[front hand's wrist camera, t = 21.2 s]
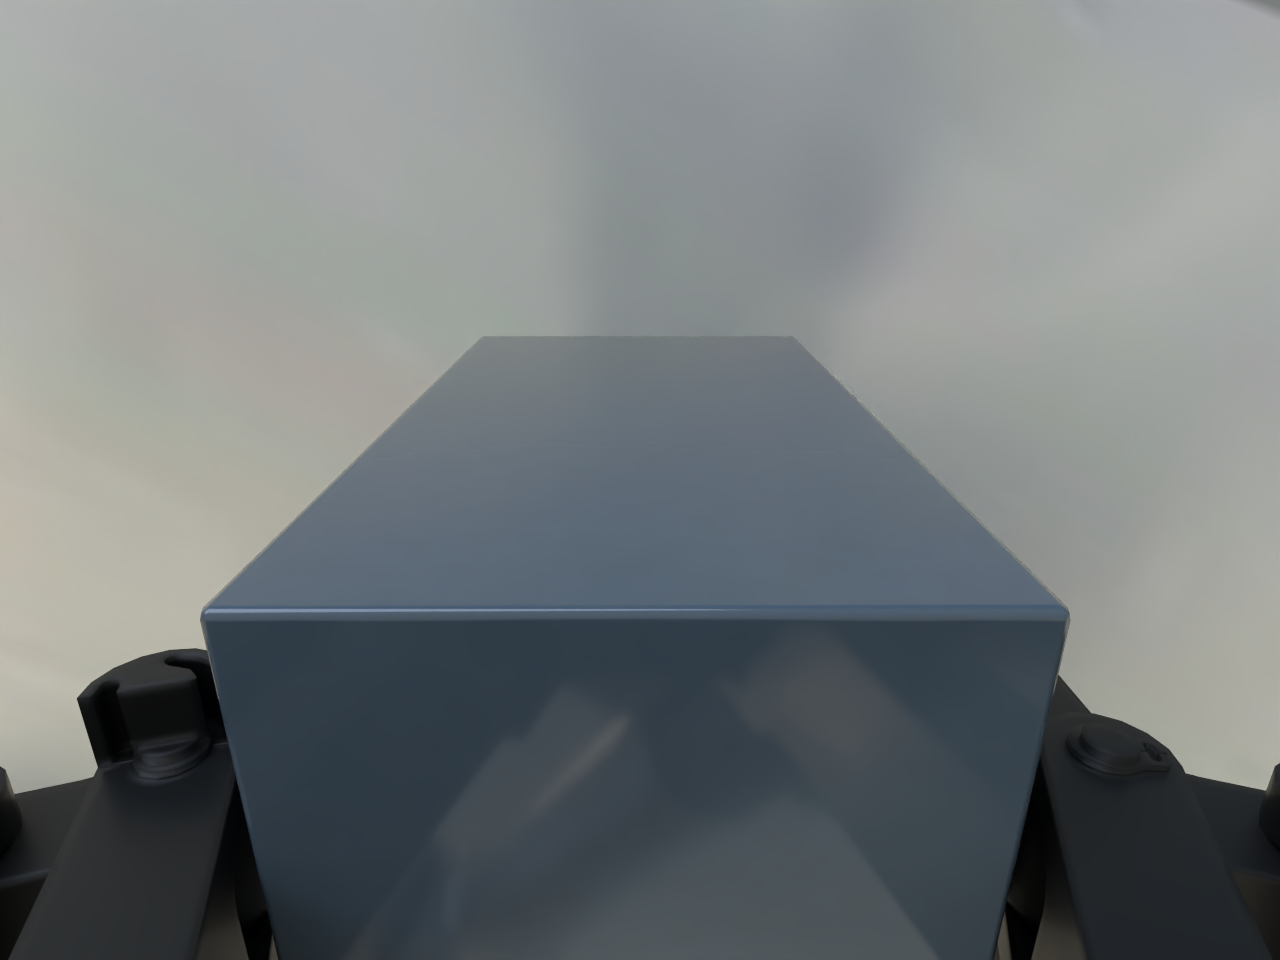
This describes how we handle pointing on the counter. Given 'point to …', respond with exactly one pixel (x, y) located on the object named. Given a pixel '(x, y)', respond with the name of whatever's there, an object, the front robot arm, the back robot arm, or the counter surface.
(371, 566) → the brick
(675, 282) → the counter surface
